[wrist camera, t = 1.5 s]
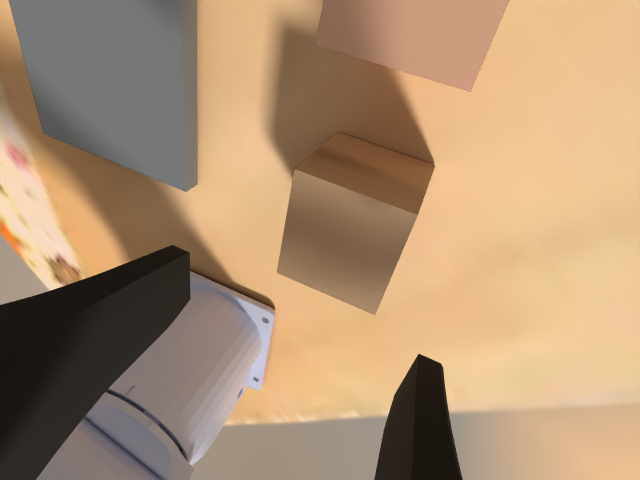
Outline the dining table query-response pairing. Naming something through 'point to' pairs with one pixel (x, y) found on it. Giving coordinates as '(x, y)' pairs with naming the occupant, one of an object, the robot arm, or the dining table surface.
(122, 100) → the base plate
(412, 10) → the pinkish tan block
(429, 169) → the walnut brick
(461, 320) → the dining table surface
